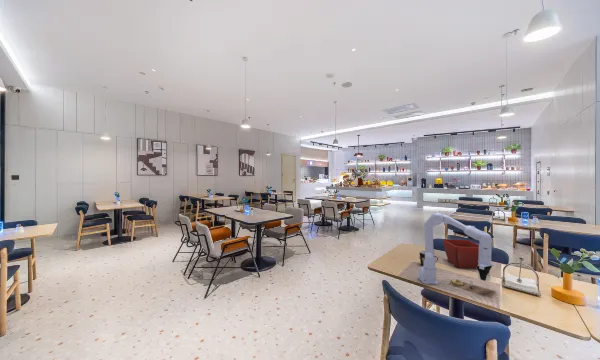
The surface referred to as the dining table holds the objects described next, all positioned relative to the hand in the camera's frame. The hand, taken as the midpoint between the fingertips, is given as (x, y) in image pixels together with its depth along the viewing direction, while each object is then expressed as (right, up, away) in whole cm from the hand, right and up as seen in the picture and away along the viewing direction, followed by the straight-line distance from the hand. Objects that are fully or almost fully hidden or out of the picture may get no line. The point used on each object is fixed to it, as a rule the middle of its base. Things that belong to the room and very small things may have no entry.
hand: (484, 278), depth 134 cm
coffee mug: (-11, -8, +39) cm, 41 cm away
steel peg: (-4, -8, +5) cm, 10 cm away
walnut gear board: (-4, -9, +5) cm, 11 cm away
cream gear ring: (0, 0, 0) cm, 0 cm away
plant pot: (+16, -8, +42) cm, 45 cm away
